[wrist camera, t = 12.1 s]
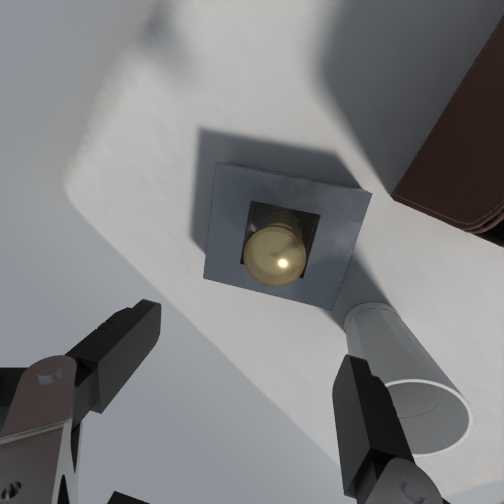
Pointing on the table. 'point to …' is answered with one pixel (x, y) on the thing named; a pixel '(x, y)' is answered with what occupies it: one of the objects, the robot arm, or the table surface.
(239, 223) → the grey hollow block
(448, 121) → the letter holder
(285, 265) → the fitting
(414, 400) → the cup
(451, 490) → the table surface
